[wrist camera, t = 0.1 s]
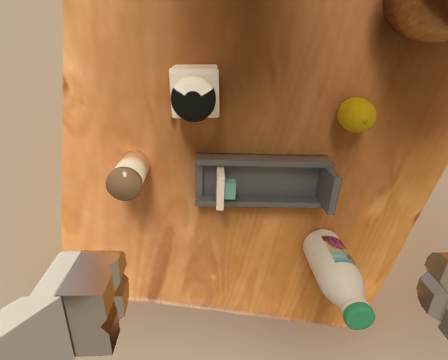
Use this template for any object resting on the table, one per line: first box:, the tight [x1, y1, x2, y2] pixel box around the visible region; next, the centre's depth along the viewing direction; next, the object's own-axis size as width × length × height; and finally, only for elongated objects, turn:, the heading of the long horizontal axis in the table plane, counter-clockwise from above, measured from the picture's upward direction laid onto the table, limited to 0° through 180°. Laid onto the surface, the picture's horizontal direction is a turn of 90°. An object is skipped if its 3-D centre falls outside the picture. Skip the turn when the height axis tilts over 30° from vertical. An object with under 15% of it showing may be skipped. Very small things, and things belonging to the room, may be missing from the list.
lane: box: [195, 153, 342, 215], centre depth 56 cm, size 9×24×8 cm, turn 88°
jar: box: [106, 151, 150, 201], centre depth 54 cm, size 5×5×9 cm
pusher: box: [216, 166, 236, 210], centre depth 56 cm, size 6×3×6 cm, turn 178°
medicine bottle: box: [169, 64, 219, 122], centre depth 47 cm, size 7×7×12 cm
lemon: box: [337, 97, 376, 133], centre depth 52 cm, size 6×6×8 cm
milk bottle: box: [303, 229, 375, 330], centre depth 58 cm, size 8×8×20 cm
